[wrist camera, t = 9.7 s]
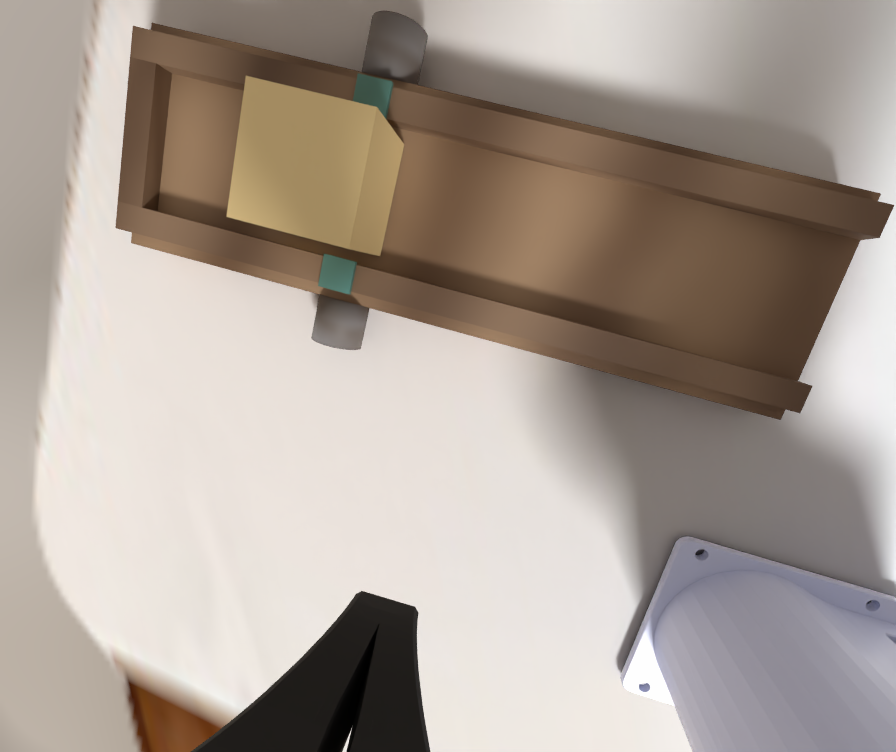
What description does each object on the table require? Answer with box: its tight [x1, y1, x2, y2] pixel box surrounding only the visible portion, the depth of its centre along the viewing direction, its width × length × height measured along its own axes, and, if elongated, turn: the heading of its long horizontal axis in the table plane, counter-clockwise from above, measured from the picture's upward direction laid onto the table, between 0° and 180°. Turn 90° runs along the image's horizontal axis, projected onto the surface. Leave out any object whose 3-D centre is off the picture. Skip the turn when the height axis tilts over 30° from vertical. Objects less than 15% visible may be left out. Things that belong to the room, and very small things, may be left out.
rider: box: [226, 76, 404, 256], centre depth 15 cm, size 4×4×4 cm
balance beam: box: [116, 11, 894, 420], centre depth 17 cm, size 26×12×2 cm, turn 76°
